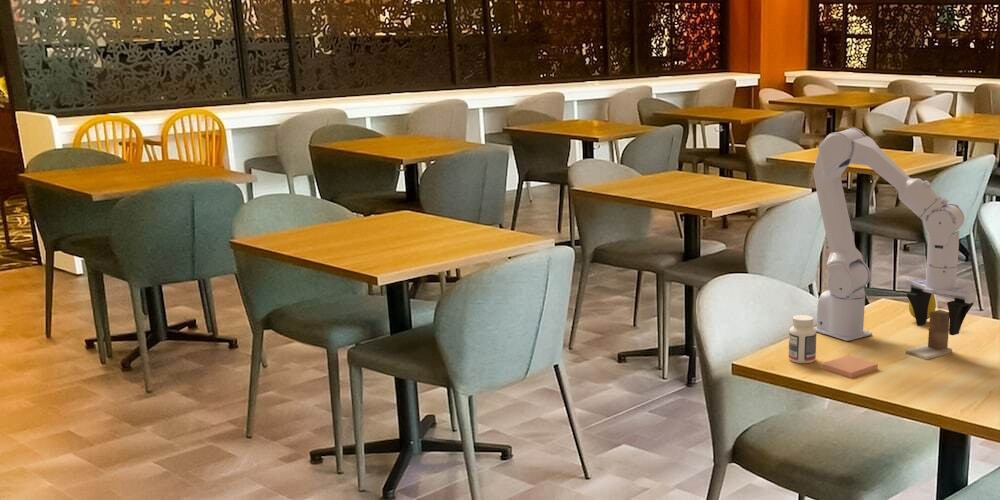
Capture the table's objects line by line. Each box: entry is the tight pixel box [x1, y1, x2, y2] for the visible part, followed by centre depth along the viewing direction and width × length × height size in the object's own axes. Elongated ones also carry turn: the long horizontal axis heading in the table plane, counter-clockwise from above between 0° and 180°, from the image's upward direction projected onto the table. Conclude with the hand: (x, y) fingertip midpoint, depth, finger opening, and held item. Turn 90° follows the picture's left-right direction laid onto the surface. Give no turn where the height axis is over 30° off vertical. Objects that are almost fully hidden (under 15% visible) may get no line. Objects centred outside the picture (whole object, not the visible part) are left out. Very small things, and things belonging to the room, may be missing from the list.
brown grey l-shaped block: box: [905, 309, 953, 360], centre depth 209 cm, size 5×8×8 cm, turn 122°
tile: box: [820, 354, 879, 379], centre depth 202 cm, size 7×2×8 cm
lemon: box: [908, 294, 937, 320], centre depth 229 cm, size 6×6×8 cm
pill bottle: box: [788, 314, 817, 364], centre depth 207 cm, size 5×5×9 cm
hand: (937, 329), depth 210 cm, fingers open, 7 cm apart
